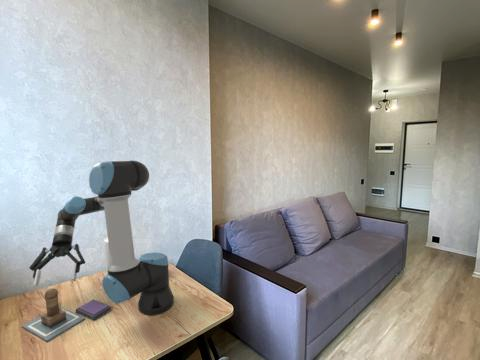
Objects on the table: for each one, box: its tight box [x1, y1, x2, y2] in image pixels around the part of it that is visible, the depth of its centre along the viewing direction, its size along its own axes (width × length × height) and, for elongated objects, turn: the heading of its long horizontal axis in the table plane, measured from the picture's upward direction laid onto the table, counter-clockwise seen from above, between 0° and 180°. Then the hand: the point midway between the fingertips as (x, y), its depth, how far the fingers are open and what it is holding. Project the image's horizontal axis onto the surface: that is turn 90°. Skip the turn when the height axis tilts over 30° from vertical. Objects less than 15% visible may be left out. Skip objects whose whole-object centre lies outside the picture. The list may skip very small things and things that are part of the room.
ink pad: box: [75, 299, 112, 322], centre depth 111 cm, size 12×8×2 cm, turn 63°
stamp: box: [40, 288, 66, 328], centre depth 103 cm, size 6×6×14 cm
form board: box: [21, 306, 86, 343], centre depth 104 cm, size 18×14×1 cm
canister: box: [103, 236, 111, 276], centre depth 146 cm, size 14×14×20 cm
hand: (55, 283), depth 108 cm, fingers open, 13 cm apart
